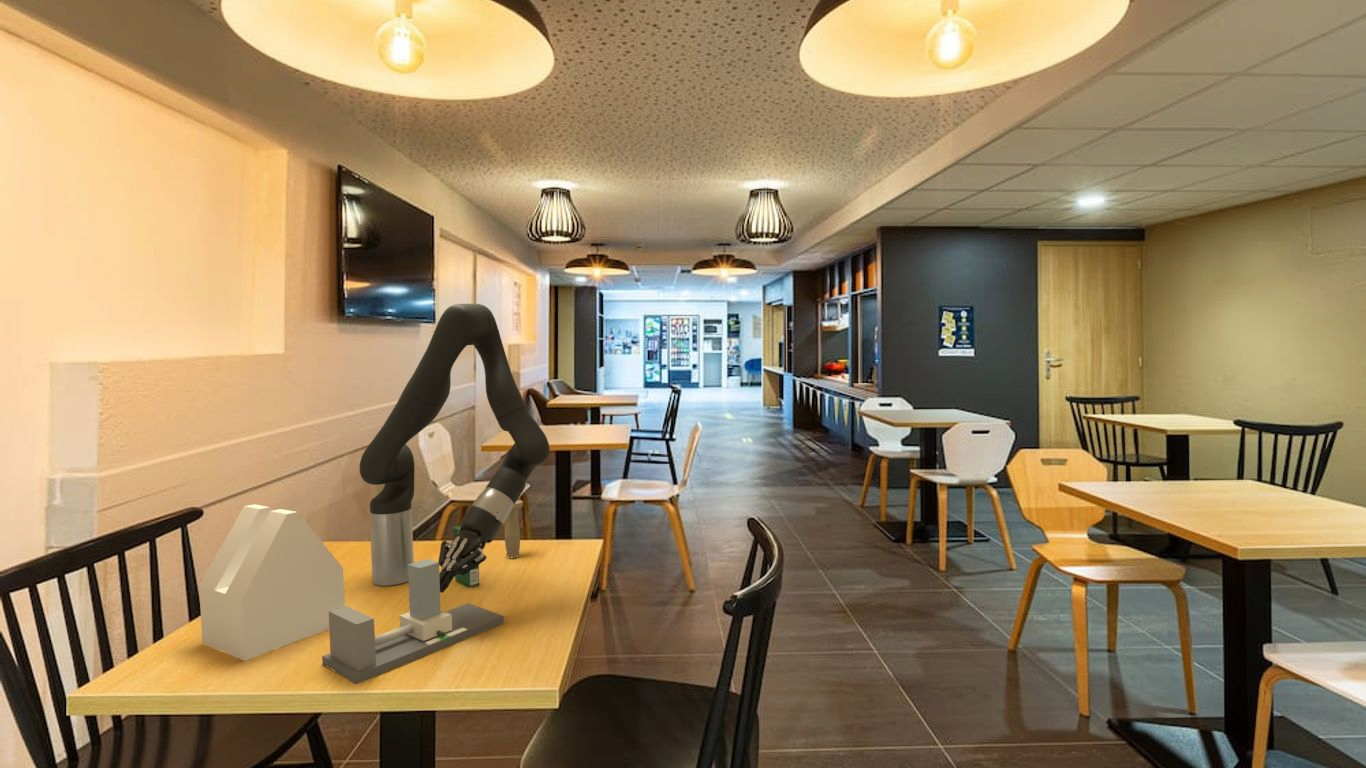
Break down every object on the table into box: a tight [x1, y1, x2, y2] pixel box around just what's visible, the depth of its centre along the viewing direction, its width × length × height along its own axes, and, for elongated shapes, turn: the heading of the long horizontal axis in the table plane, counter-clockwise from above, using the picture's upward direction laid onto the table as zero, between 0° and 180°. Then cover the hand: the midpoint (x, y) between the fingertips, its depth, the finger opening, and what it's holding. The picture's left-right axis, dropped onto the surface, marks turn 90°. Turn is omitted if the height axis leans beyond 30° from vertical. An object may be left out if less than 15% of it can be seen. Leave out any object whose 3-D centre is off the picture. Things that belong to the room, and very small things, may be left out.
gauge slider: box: [375, 558, 452, 646], centre depth 122 cm, size 10×14×13 cm
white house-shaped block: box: [198, 503, 346, 662], centre depth 130 cm, size 19×15×25 cm
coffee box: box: [452, 525, 480, 588], centre depth 157 cm, size 8×3×13 cm, turn 44°
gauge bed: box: [321, 602, 505, 685], centre depth 125 cm, size 12×30×10 cm, turn 143°
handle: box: [504, 499, 524, 559], centre depth 177 cm, size 5×6×15 cm
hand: (436, 590), depth 128 cm, fingers closed
